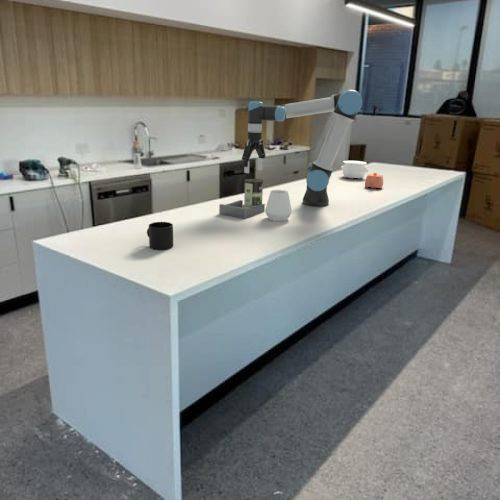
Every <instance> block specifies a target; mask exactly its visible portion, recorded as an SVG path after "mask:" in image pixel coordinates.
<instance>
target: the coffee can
mask: <svg viewBox="0 0 500 500" xmlns="http://www.w3.org/2000/svg"><path fill="white" fill-rule="evenodd" d="M263 188H264V180H263V179H260V178H259V179H258V178H245V179H244V202H243V203H244V205H243V206H245V207H248V208H251V207H254V206H257V205H260V204H263V193H264V192H263V190H264V189H263Z"/></svg>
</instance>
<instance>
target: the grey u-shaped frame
mask: <svg viewBox="0 0 500 500" xmlns="http://www.w3.org/2000/svg"><path fill="white" fill-rule="evenodd" d="M243 203H244V202H243V200H242V199H239V200H236V201H233V202H230V203H227V204H223V203H220V204H219V206H218V207H219V209H218V210H219V215H222V216H227V217H232V218H238V219H247V218H252V217H254V216H256V215H259V214H261V213H264V212H265V209H266V206H265V205H266V204H265V203H262V204H260V205H257V206H254V207H248V208H246V207H243V206H244V205H243Z"/></svg>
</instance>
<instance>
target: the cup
mask: <svg viewBox="0 0 500 500" xmlns="http://www.w3.org/2000/svg"><path fill="white" fill-rule="evenodd" d="M292 210H293V209H292V204H291V198H290V195H289V191H287V190H281V189H274V190H271V191H270V193H269V196H268V200H267V203H266V206H265V211H264V212H265V214H266V216H267V218H268V220H269V221H272V220H273V221H272V222H286V221H288V219H289V218H290V216H292V212H293V211H292ZM285 220H286V221H285Z"/></svg>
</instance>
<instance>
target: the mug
mask: <svg viewBox="0 0 500 500" xmlns="http://www.w3.org/2000/svg"><path fill="white" fill-rule="evenodd" d="M146 234H147V235H146V236H147V237H148V244H149V245H148V247H149V248H150V249H152V248H153V249H152V250H155V249H156V251H164V250H165V251H166V250H169V249H172V248H173V247H174V224H173V223H172V222H168V221H154V222H151V223H149V224H148V228H147V231H146Z"/></svg>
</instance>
